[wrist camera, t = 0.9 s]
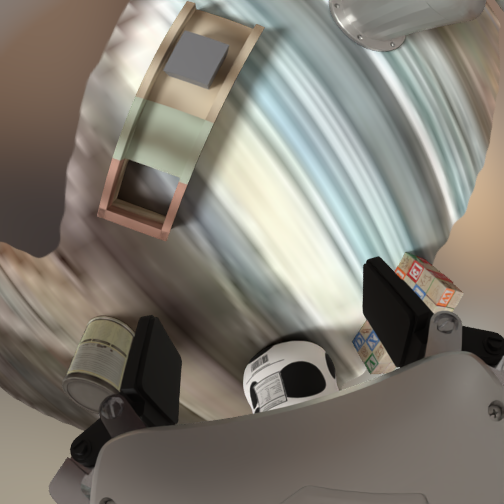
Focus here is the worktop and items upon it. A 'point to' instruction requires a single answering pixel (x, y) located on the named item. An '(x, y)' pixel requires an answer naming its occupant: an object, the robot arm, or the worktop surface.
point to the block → (196, 59)
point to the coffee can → (98, 362)
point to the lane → (173, 118)
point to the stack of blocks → (428, 289)
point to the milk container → (288, 375)
